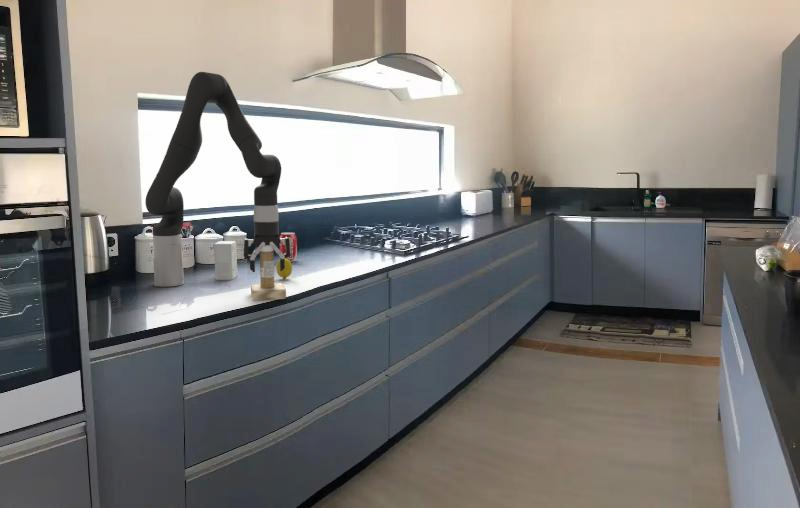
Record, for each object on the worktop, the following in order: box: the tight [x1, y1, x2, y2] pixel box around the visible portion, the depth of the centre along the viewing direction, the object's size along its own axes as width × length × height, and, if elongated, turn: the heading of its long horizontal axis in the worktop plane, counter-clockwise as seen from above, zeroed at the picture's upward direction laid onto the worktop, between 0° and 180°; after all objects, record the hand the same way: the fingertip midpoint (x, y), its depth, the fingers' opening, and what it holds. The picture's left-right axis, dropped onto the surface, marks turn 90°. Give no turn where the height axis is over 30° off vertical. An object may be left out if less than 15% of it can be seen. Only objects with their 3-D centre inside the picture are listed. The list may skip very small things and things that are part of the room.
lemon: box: [275, 258, 293, 280], centre depth 234 cm, size 6×6×8 cm
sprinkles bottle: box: [259, 245, 276, 288], centre depth 205 cm, size 5×5×13 cm
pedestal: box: [250, 282, 287, 302], centre depth 206 cm, size 10×10×3 cm
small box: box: [213, 240, 238, 281], centre depth 236 cm, size 8×6×13 cm
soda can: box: [279, 231, 298, 263], centre depth 273 cm, size 7×7×12 cm
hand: (267, 271), depth 205 cm, fingers open, 8 cm apart
